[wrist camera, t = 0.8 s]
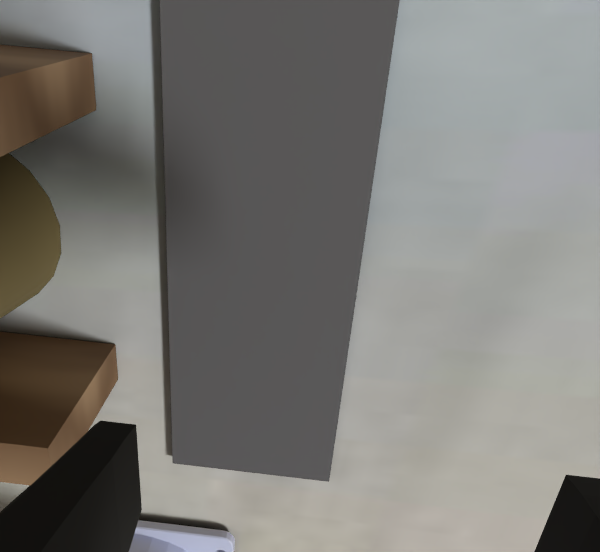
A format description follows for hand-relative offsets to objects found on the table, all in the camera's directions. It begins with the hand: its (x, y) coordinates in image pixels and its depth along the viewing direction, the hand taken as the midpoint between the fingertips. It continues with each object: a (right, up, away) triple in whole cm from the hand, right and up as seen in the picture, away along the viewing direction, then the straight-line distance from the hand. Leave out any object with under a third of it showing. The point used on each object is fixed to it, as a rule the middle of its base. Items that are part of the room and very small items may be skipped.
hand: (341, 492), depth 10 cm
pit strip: (-2, +4, +8) cm, 9 cm away
